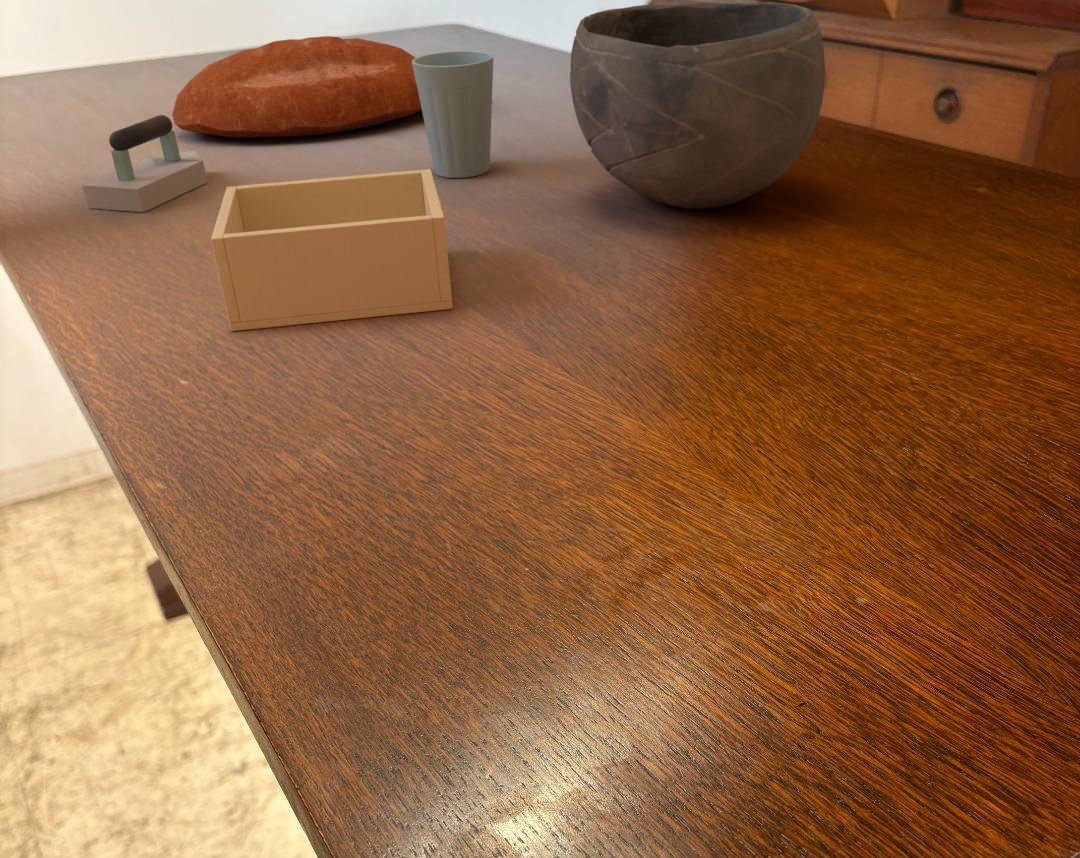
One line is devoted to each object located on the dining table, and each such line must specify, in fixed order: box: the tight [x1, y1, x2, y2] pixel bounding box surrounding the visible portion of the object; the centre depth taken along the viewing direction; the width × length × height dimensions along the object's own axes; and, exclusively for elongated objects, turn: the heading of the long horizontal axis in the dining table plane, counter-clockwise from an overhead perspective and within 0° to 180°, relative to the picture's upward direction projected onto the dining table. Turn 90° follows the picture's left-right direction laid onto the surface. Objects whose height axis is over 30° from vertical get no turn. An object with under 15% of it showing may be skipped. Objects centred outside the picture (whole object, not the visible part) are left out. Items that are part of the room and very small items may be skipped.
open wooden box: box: [210, 168, 454, 332], centre depth 80 cm, size 16×13×7 cm
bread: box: [171, 35, 422, 138], centre depth 127 cm, size 23×32×9 cm
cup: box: [412, 50, 494, 179], centre depth 105 cm, size 8×8×10 cm
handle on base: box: [82, 114, 208, 213], centre depth 105 cm, size 13×6×6 cm, turn 159°
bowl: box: [569, 1, 826, 210], centre depth 92 cm, size 21×21×15 cm
